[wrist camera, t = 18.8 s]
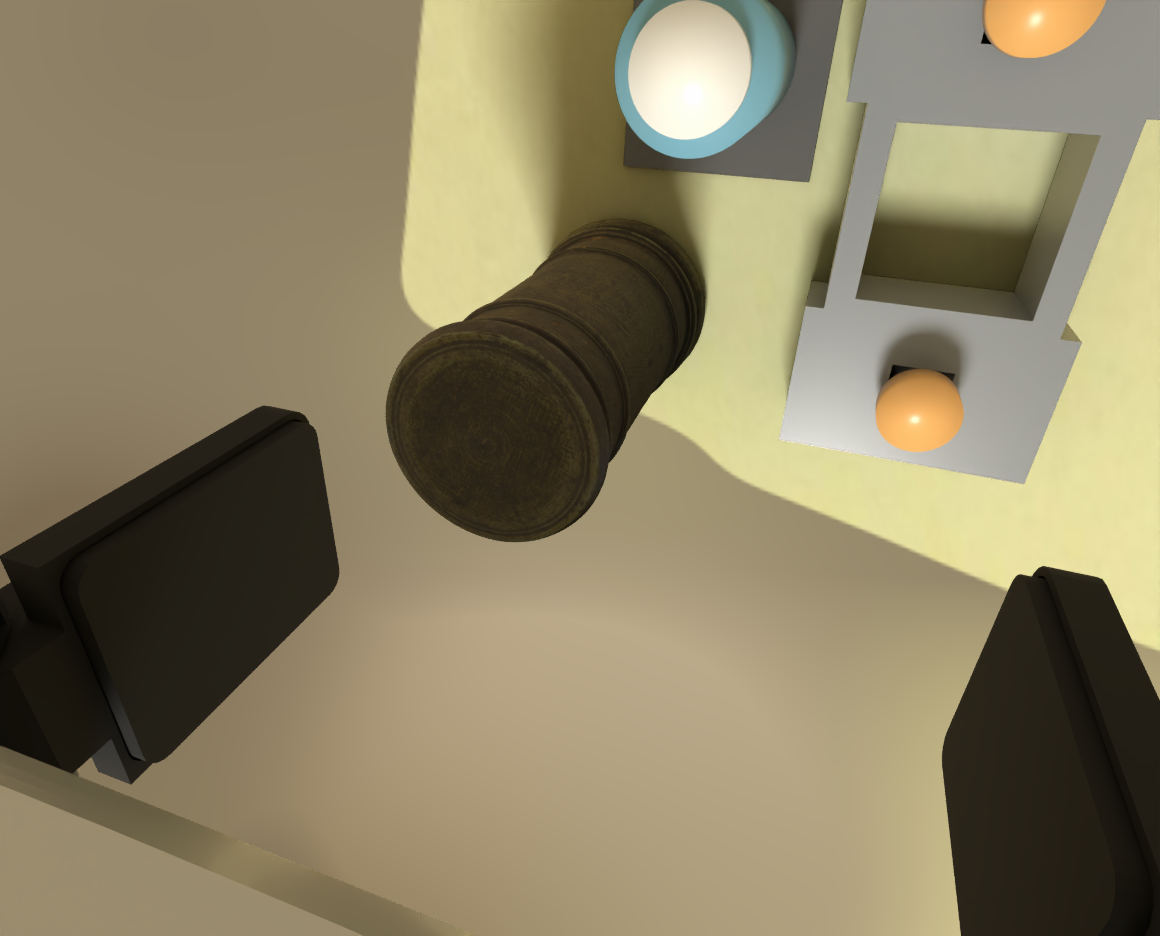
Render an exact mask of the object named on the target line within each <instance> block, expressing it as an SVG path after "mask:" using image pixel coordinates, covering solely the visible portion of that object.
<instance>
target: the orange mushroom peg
mask: <svg viewBox="0 0 1160 936" xmlns="http://www.w3.org/2000/svg"><path fill="white" fill-rule="evenodd" d="M875 409H876V424H877V427H878V430H879V432H880V434H881V435H882V437H883V438H884V439H885V440H886V441H887V442H888V443H890V444H891V445H893V446H895V447H897V448H899V449H902V450H905V451H911V452H924V451H930V450H933V449H936V448H938V447H941V446H943V445H944V444H946V443H947V442H949V441H950V440H951V439H952V438H953V437H954V436H955V435H956V434H957V432H958V431H959V429H960V427H961V425H962V422H963V417H964V409H963V405H962V401H961V398H960V394H959V391H958V389H957V387H956V386H955V384H954V383H953V382H952V381H951V380H950V379H949V378H948V377H946V376H945V375H943V374H941V373H939V372H937V371H934V370H929V369H920V368H913V367H906V366H899V365H894V377H892V378H891V379H890V380H888V381H887V382H886V383H885V384H884V385H883V387H882V388H881V390H880V392H879V393H878V396H877V399H876V407H875Z"/></svg>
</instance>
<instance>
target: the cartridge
mask: <svg viewBox="0 0 1160 936" xmlns="http://www.w3.org/2000/svg"><path fill="white" fill-rule="evenodd" d="M795 65H796V45H795V39H794V36H793V32H792V30H791V27H790V25H789V23H788V21H787V19H786V18H785V16H784V15H783V14H782V12H781V11H780V10H779V9H778V8H777V7H776V6H775V5H774V4H772V3H771V2H769V1H768V0H644V1H643V2H642V3H641V4H640V5H639V6H638V8H637V9H636V10H635V11H634V13H633V14H632V16H631V18H630V19H629V21H628V23H627V25H626V27H625V29H624V31H623V33H622V36H621V39H620V42H619V45H618V50H617V54H616V61H615V86H616V93H617V97H618V101H619V104H620V107H621V110H622V112H623V114H624V116H625V118H626V120H627V122H628V124H629V125H630V127H631V128H632V130H633V131H634V132H635V133H636V134H637V136H638V137H639V138H640V139H641V140H642V141H644V142H645V143H646V144H647V145H649V146H650V147H652V148H653V149H655V150H656V151H659V152H661V153H663V154H665V155H668V156H672V157H676V158H683V159H695V158H703V157H706V156H710V155H713V154H716V153H718V152H720V151H723V150H724V149H726V148H728V147H730V146H731V145H733V144H734V143H735V142H736V141H738V140H739V139H740V138H742V137H743V136H744V135H745V134H747V133H748V132H749V131H750V130H752V129H753V128H754V127H755V126H757V125H758V124H759V123H760V122H762V121H763V120H764V119H765V118H767V117H768V116H769V115H770V114H771V113H772V112H773V111H774V110H775V109H776V108H777V107H778V106H779V104H780V103H781V102H782V100H783V99H784V97H785V95H786V94H787V91H788V89H789V87H790V85H791V82H792V79H793V76H794V71H795Z"/></svg>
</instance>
